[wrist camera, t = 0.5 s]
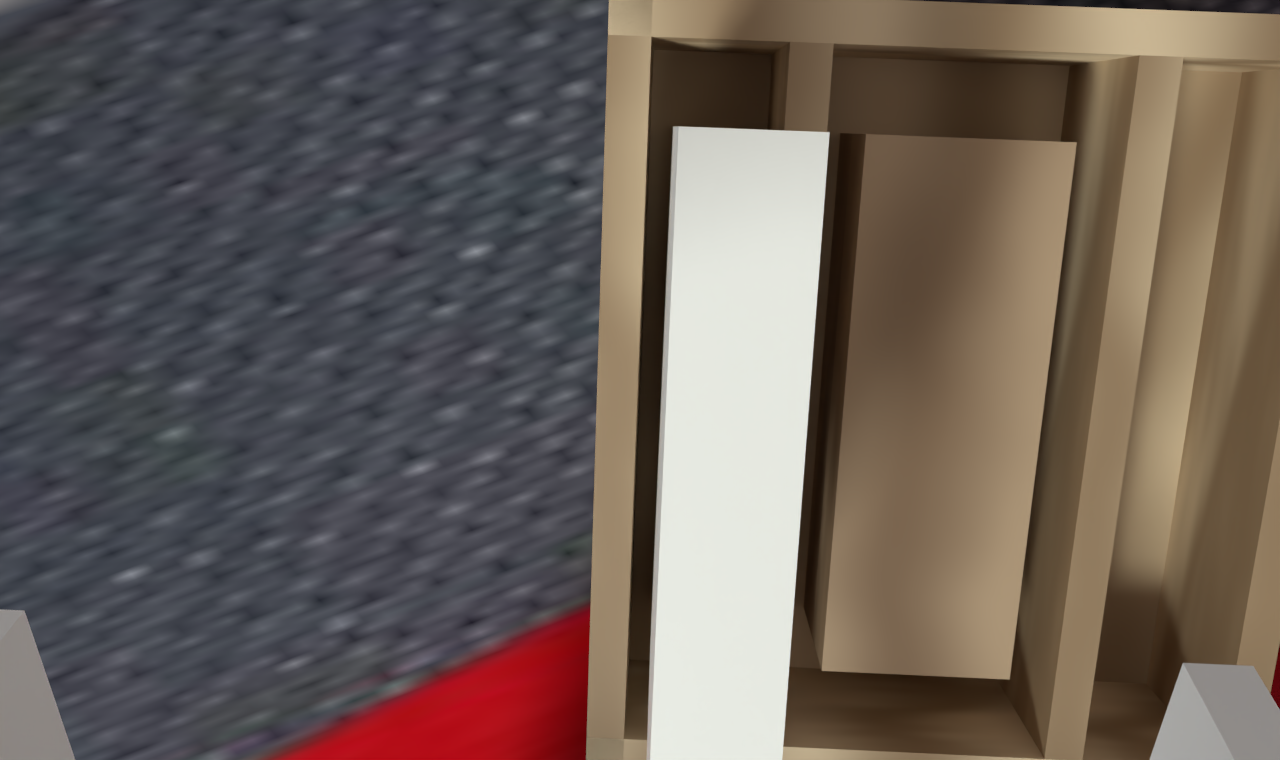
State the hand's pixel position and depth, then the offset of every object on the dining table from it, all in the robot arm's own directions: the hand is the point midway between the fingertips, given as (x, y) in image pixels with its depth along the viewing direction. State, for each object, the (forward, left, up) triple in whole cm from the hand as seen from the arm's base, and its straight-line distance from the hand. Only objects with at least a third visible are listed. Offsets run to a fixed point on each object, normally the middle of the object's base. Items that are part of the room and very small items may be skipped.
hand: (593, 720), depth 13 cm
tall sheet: (0, -2, -19) cm, 19 cm away
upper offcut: (0, -8, -17) cm, 19 cm away
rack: (0, -8, -21) cm, 22 cm away
